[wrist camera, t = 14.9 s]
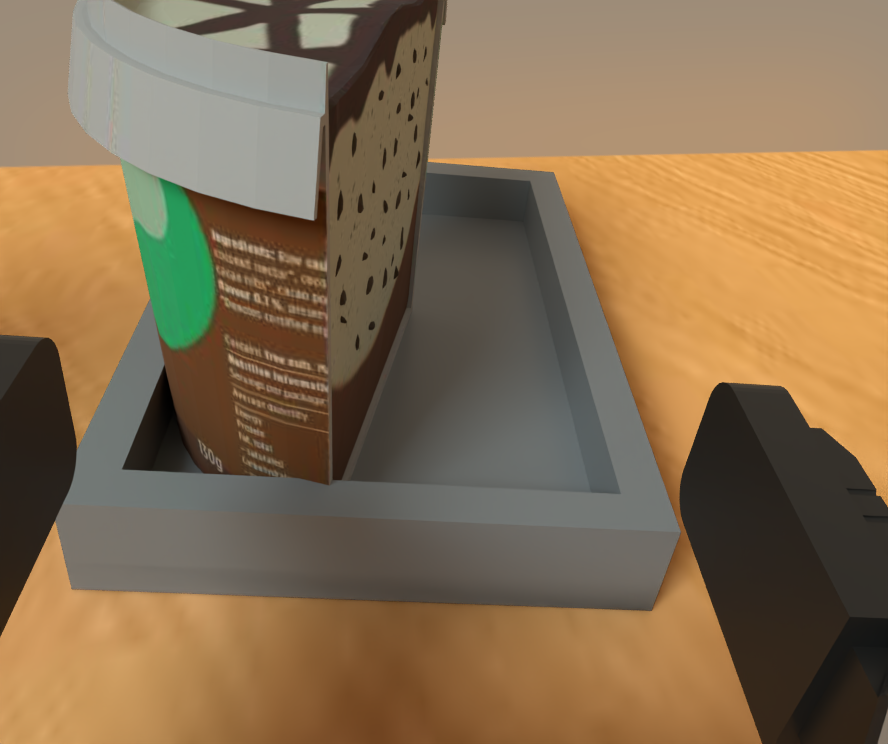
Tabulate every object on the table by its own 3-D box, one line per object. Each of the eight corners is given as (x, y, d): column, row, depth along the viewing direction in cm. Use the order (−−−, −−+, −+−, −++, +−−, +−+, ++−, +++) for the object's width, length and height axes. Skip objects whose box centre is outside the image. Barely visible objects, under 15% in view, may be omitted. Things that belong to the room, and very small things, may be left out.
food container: (231, 256, 27) (213, -99, 21) (420, 287, 27) (454, -65, 21) (13, 533, 17) (-138, 6, 11) (310, 591, 17) (315, 74, 11)
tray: (543, 231, 33) (553, 172, 31) (651, 610, 18) (681, 532, 17) (227, 207, 32) (224, 145, 30) (71, 588, 17) (50, 503, 16)
